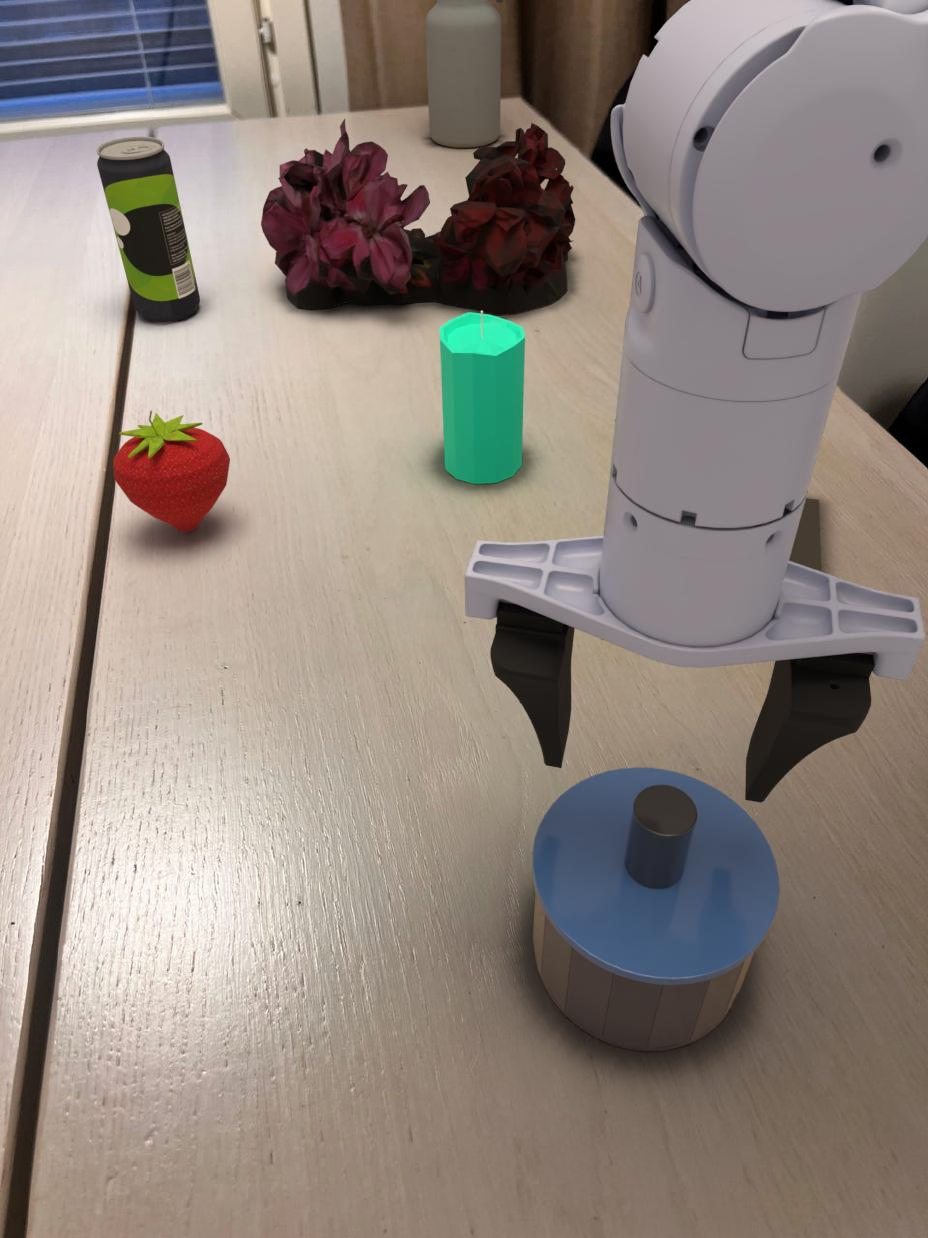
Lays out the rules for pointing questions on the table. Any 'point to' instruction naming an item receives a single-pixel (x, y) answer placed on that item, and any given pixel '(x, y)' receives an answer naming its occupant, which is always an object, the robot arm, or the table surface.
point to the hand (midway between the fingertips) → (653, 764)
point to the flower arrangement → (407, 260)
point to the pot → (629, 997)
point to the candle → (482, 397)
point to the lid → (655, 876)
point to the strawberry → (172, 471)
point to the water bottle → (464, 72)
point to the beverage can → (149, 227)
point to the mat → (808, 537)
